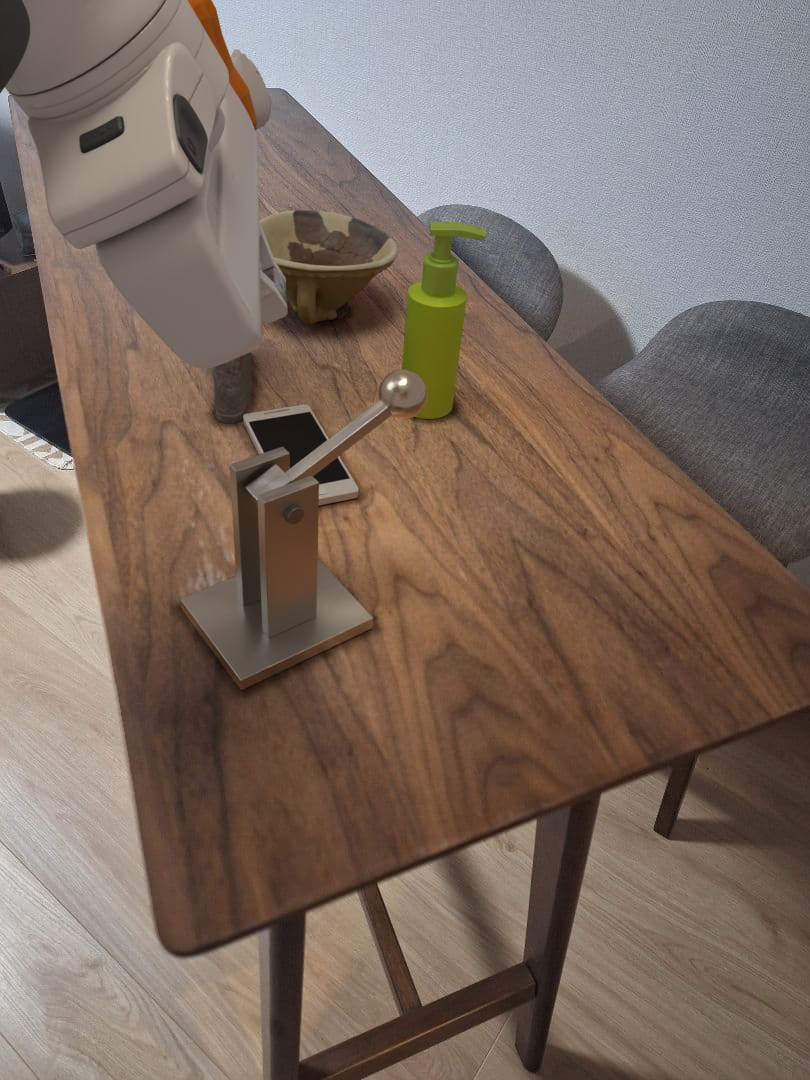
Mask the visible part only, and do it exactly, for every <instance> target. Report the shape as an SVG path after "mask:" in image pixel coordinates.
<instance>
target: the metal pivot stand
mask: <svg viewBox="0 0 810 1080" xmlns="http://www.w3.org/2000/svg"><path fill="white" fill-rule="evenodd" d="M275 464H277V465H278V466H279V467H280V468H281V469H282V470H283V471H284V472H286V471H288V470H289V469H290V453H289V452H288V451H287V450H286V449H285V448H284V447H280V448H277V449H274V450H271V451H268V452H265V453H262V454H257V455H253V456H251V457H247V458H245V459H241V460H238V461H237V462H233V463H231V464H229V480H230V481H229V482H230V483H229V484H230V495H231V496H230V497H231V499H230V500H231V512H232V513H231V514H232V528H233V530H232V531H233V545H234V562H235V563H234V564H235V576H233V577H230V578H228V579H226V580H223V581H221V582H218V583H216V584H213V585H211V586H208V587H206V588H203V589H201V590H198V591H196V592H194V593H191V594H188V595H186V596H183V597H181V598H180V600H179V601H180V608H181V611H182V612H183V614H184V615H185V616H186V617H187V619H188V620H189V621H190V622H191V624H192V626H193V627H194V628H195V630H196V631H197V633H198V634H199V636H200V637H201V638H202V639H203V640H204V642H205V644H207V646H208V647H209V649H210V650H211V652H212V653H213V655H214V656H215V657H216V659H217V660H218V661H219V662H220V663H221V665H222V666H223V668H224V669H225V671H226V672H227V674H228V675H229V677H231V678H232V680H233V681H234V683H235V684H236V685H237V687H238V688H239V690H240V691H244V690H245V689H248V688H249V687H252V686H254V685H256V684H258V683H260V682H263V681H264V680H266V679H269V678H271V677H273V676H275V675H277V674H279V673H281V672H283V671H285V670H288V669H289V668H291V667H293V666H296V665H298V664H301V663H303V662H304V661H306V660H309V659H311V658H313V657H314V656H317V655H319V654H321V653H323V652H325V651H327V650H329V649H331V648H333V647H335V646H338V645H340V644H342V643H345V642H347V641H348V640H350V639H353V638H354V637H356V636H358V635H361V634H363V633H365V632H367V631H369V630H371V629H373V627H374V617H373V616H372V615H371V614H370V612H369V611H368V610H367V609H366V608H365V607H364V606H363V605H362V604H361V603H360V602H359V600H358V599H357V598H356V597H355V596H354V595H353V594H352V593H351V591H349V590H348V588H347V587H345V585H344V584H343V583H342V582H341V581H340V580H339V579H338V577H336V576H335V574H334V573H332V571H331V570H330V569H329V568H328V567H327V566H326V565H325V564H324V563H323V562H322V561H321V559H320V558H319V512H320V511H319V510H320V505H319V482H318V481H317V480H316V479H315V478H314V477H313V476H309V477H306V478H303V479H301V480H298V481H295V482H292V483H290V484H287V485H284V486H281V487H279V488H276V489H273V490H270V491H268V492H265V493H262V494H259V495H258V496H257V497H258V506H257V504H256V503H255V501H254V500H253V498H252V497H251V496H250V494H249V493H248V491H247V490H246V486H248V485H249V484H250V483H252V482H253V481H254V480H256V479H257V478H258V477H259V476H261V475H262V474H263V473H265V472H266V471H267V470H269V469H270V468H271V467H273V466H274V465H275Z"/></svg>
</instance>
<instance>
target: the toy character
mask: <svg viewBox="0 0 810 1080" xmlns="http://www.w3.org/2000/svg"><path fill="white" fill-rule="evenodd" d="M230 57H231V60H232V62H233V65H234V67H235V68H236V70H237V71H238V73H239V74H240V76H241V77H242V79H243V81H244V82H245V84H246V85H247V87H248V89H249V92H250V96H251V100H252V104H253V108H254V111H255V115H256V120H257V125H256V130H258V129H261V128H264V126H266V125H267V123H268V121H270V116H271V114H272V104H273V103H272V100H271V96H270V92H269V91H268V88H267V85H266V84H265V81H264V78H263V77H262V74H261V72H260V71H259V69H258V67H257V66H256V64H255V63H254V62H253V61H252V60H251V59H250V58H248V56H247V55H246V54H245V53H242V52H241V50H240V49H238V48H236V49H233V51H232V53H231V54H230Z"/></svg>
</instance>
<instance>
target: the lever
mask: <svg viewBox="0 0 810 1080" xmlns="http://www.w3.org/2000/svg"><path fill="white" fill-rule="evenodd" d="M426 400H427V389H426V385H425V383H424V381H423V380H422V379H421V377H420V376H418V375H417V374H416V373H414V372H412V371H409V370H402V369H397V370H394V371H391V372H390V373H388V374H387V375H386V376H384V378H383V379H382V381H381V382H380V385H379V387H378V400H377V402H375V403H374V404H372V405H371V406H370V407H368V408H367V409H366V410H365V411H363V412H362V413H361V414H359V415H358V416H357V417H355V418H354V419H353V420H351V421H350V422H349V423H347V424H346V425H345V426H343V428H341V429H340V430H339V431H337V432H336V433H335V434H333V435H331V436H330V437H328V438H329V439H328V440H327V441H325V442H324V443H323V444H322V445H320V446H319V447H318V448H316V449H315V450H314V451H312V452H311V453H310V454H309V455H307V456H306V457H305V458H303V459H302V460H301V461H299V462H298V463H297V464H295V465H294V466H293V467H292V468H290V469H289V470H288V471H286V472H284V471H283V470H282V469H281V468H280V467H279V466H278V465H277V464H275V465H274V466H273V467H271V468H270V469H269V470H267V471H266V472H265V473H263V474H262V475H261V476H259V477H258V478H257V479H256V480H254V481H253V482H252V483H250V484H249V485H248V486H246V490H247V491H248V493H249V494H250V496H251V497H252V498H253V500H254V501H255V503H256V504H257V506H258V497H257V496H258V495H259V494H262V493H265V492H268V491H270V490H273V489H276V488H279V487H281V486H284V485H287V484H290V483H292V482H295V481H298V480H301V479H303V478H306V477H309V476H314V475H315V474H317V473H318V472H319V471H320V470H322V469H323V468H324V467H326V466H327V465H328V464H330V463H331V462H332V461H333V460H335V459H336V458H337V457H339V456H340V457H341V455H343V454H344V453H345V452H347V451H348V450H349V449H350V448H352V447H353V446H354V445H356V444H357V443H358V442H359V441H361V440H362V439H363V438H365V437H366V436H367V435H368V434H370V433H372V431H373V430H375V429H376V428H377V427H379V426H380V425H382V423H384V422H385V421H386V420H388V419H389V418H390V417H392V418H395V419H399V420H406V419H411V418H413V417H414V416H415V415H417V414H418V413H419V412H420V411H421V410H422V409H423V407H424V406H425V403H426ZM414 418H415V417H414Z"/></svg>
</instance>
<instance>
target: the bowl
mask: <svg viewBox="0 0 810 1080" xmlns="http://www.w3.org/2000/svg"><path fill="white" fill-rule="evenodd" d="M259 222H260V224H261V226H262V229H263V231H264V234H265V236H266V239H267V242H268V244H269V247H270V250H271V252H272V255H273V257H274V260H275V262H276V264H277V265H278V267H279V268H280V270H281V271H282V273H283V274H284V276H285V278H286V296H287V299H289V301H290V308H291V309H292V311H293V312H294V313H295V314H297V315H298V316H299V319H300V320H301V321H302V322H303V323H305V324H307V325H313V324H316V323H318V322H322V321H331V320H332V321H333V320H337V319H340V318H341V317H343V316H344V315H345V314H347V313H348V310H349V306H350V305H349V303H350V302H351V301H352V300H353V299H354V298H355V297H356V296H357V295H359V294H360V293H361V292H362V291H363V290H364V289H365V288H366V287H367V285H368V284H369V283H370V282H372V280H373V279H374V278H375V277H376V276H377V275H378V274H381V273H383V271H386V270H387V269H388V268H390V267H392V265H393V264H394V262H395V260H396V258H397V257H398V254H399V247H398V244H397V243H396V241H395V240H394V239H393V238H392V237H391V236H390V235H389V234H387V233H386V232H385V231H383V230H382V229H380V228H379V227H377V226H375V225H373V224H371V223H370V222H367V221H364V220H362V219H360V218H356V217H353V216H348V215H346V214H341V213H338V212H333V211H323V210H304V209H293V210H292V209H291V210H286V211H281V212H277V213H272V214H269V215H267V216H265V217H263V218H262V219H259Z"/></svg>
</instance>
